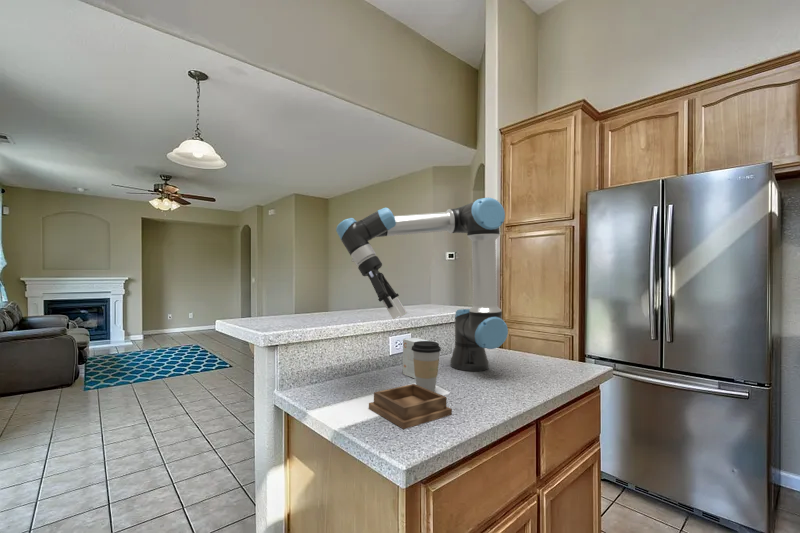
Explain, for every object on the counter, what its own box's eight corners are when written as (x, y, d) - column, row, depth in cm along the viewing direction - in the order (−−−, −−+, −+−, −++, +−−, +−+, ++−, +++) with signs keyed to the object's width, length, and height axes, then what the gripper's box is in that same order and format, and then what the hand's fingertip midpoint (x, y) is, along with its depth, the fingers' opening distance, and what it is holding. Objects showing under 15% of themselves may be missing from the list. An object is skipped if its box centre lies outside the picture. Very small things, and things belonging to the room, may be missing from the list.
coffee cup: (438, 396, 111) (439, 347, 111) (408, 394, 113) (409, 345, 113) (441, 387, 120) (442, 341, 121) (413, 384, 122) (414, 339, 123)
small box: (429, 376, 132) (430, 340, 132) (415, 379, 128) (416, 342, 129) (415, 371, 139) (416, 337, 139) (402, 374, 135) (402, 338, 135)
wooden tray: (414, 397, 110) (414, 382, 110) (451, 414, 97) (451, 397, 97) (368, 408, 101) (368, 392, 101) (403, 429, 88) (403, 410, 88)
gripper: (367, 270, 134) (397, 320, 131) (346, 263, 110) (383, 324, 106) (384, 259, 134) (415, 308, 130) (367, 249, 109) (404, 310, 106)
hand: (400, 316), depth 118 cm, fingers open, 13 cm apart
